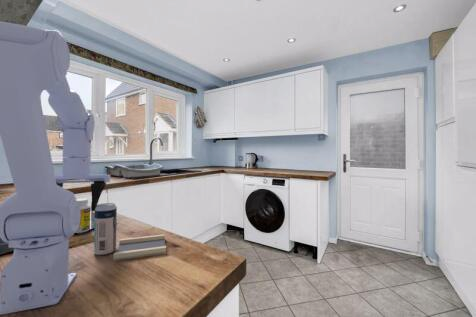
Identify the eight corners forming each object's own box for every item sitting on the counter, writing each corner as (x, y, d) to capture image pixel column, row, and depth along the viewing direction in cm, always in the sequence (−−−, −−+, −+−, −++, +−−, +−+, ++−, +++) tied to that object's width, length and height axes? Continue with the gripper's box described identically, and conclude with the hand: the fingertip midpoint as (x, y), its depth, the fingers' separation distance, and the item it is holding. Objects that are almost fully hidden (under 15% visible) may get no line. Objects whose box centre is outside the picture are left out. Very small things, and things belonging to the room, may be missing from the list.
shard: (102, 240, 63) (102, 233, 63) (87, 251, 56) (87, 244, 56) (61, 241, 62) (61, 235, 62) (41, 253, 54) (41, 246, 54)
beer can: (120, 250, 55) (120, 204, 55) (100, 258, 51) (101, 207, 51) (109, 246, 58) (110, 202, 58) (90, 253, 53) (90, 205, 53)
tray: (166, 253, 54) (166, 247, 54) (113, 260, 50) (113, 254, 50) (164, 239, 63) (164, 234, 63) (119, 244, 59) (119, 239, 59)
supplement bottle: (85, 233, 67) (85, 201, 67) (65, 234, 66) (65, 201, 66) (93, 228, 73) (93, 197, 73) (74, 229, 71) (74, 198, 72)
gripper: (112, 158, 61) (111, 206, 60) (48, 157, 55) (47, 210, 55) (107, 158, 54) (106, 211, 54) (34, 157, 49) (33, 216, 49)
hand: (76, 211), depth 54 cm, fingers open, 7 cm apart
